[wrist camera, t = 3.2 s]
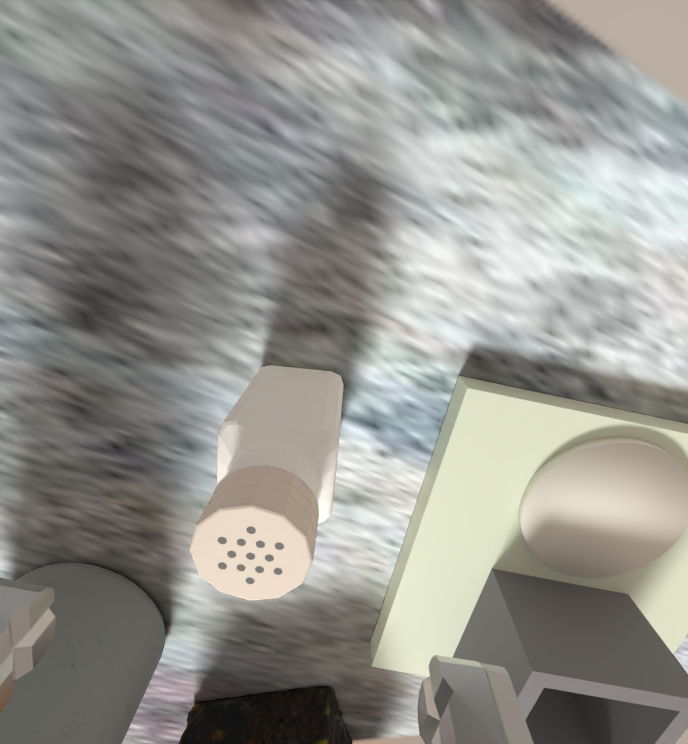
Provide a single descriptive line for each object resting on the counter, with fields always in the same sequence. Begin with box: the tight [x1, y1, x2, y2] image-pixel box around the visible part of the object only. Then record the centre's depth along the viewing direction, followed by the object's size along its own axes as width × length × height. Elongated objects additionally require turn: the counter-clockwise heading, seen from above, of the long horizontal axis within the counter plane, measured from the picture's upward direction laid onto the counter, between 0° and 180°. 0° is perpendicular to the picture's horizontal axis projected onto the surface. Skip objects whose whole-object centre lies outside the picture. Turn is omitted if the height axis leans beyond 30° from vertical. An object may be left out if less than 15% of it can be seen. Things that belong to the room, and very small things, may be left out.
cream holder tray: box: [371, 376, 688, 744], centre depth 19 cm, size 18×16×6 cm
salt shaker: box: [190, 365, 344, 600], centre depth 15 cm, size 4×4×10 cm
